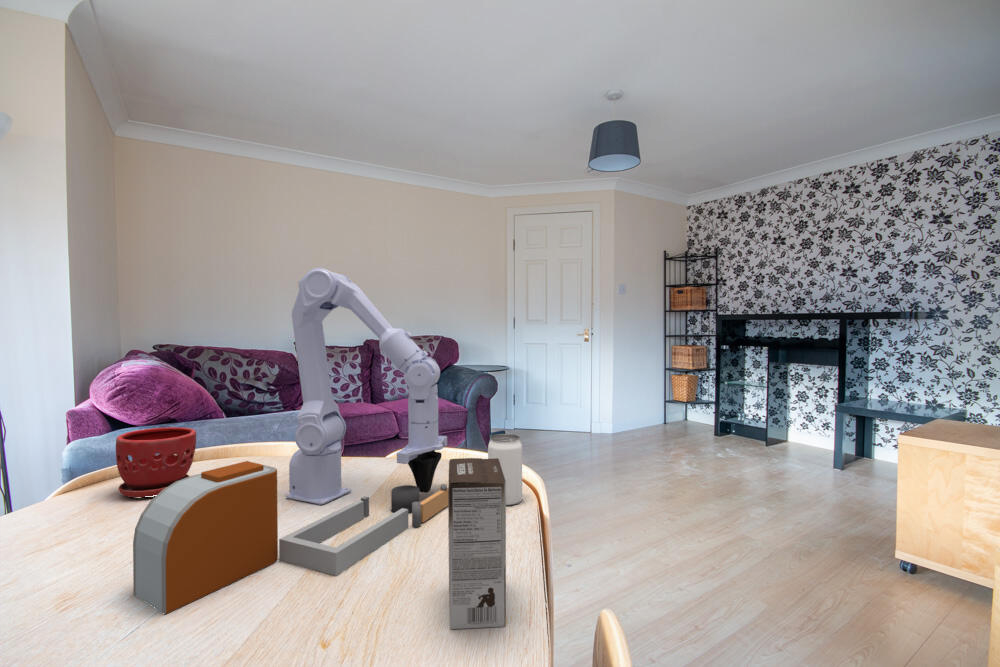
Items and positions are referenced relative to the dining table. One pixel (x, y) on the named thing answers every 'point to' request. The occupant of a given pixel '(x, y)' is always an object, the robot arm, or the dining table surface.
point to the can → (508, 463)
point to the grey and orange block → (205, 534)
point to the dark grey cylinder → (404, 497)
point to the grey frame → (335, 560)
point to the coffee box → (477, 543)
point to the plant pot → (154, 459)
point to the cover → (429, 506)
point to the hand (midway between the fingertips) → (424, 491)
